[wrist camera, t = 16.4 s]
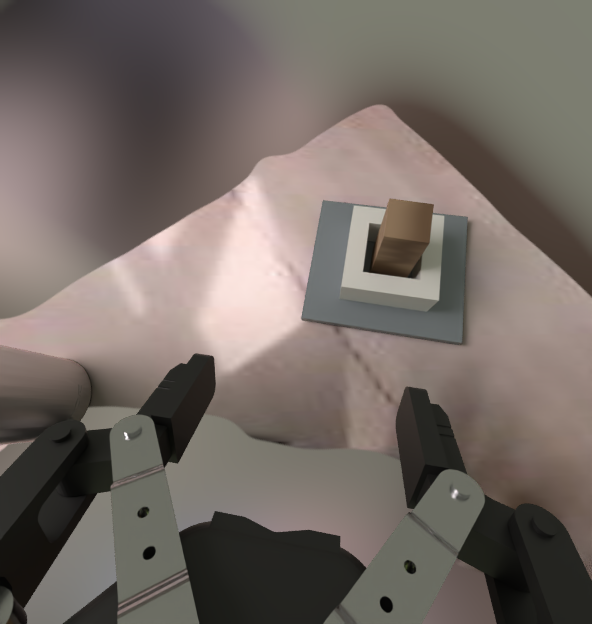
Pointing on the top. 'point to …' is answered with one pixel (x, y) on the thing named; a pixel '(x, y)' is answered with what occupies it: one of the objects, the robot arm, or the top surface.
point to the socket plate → (377, 315)
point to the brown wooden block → (401, 237)
